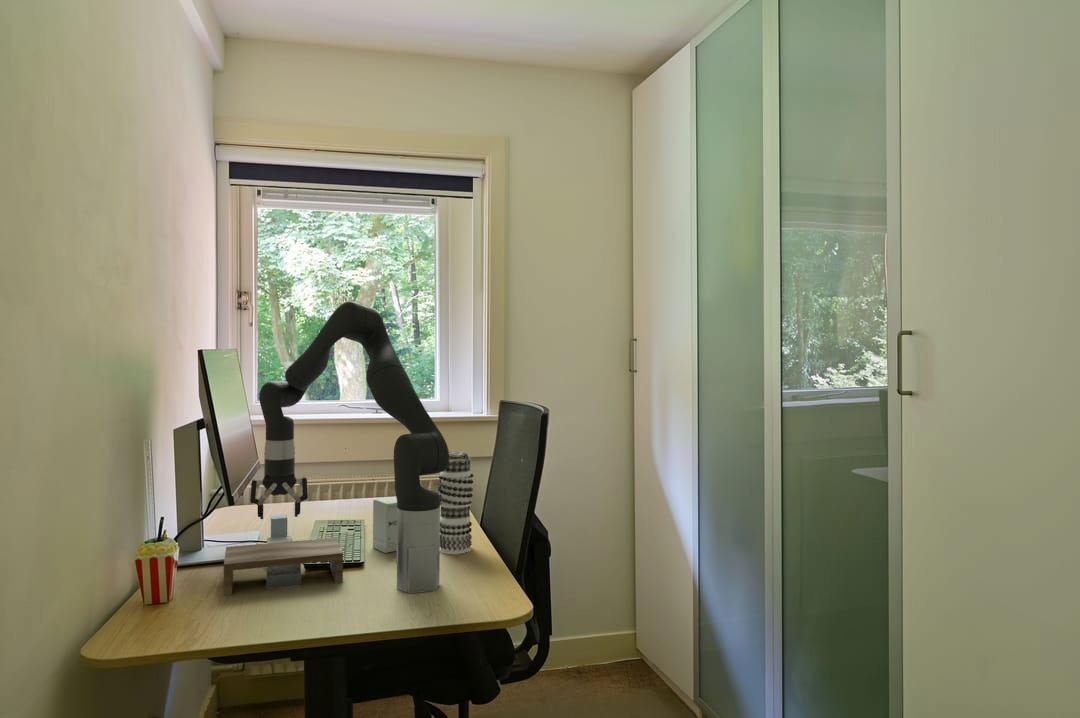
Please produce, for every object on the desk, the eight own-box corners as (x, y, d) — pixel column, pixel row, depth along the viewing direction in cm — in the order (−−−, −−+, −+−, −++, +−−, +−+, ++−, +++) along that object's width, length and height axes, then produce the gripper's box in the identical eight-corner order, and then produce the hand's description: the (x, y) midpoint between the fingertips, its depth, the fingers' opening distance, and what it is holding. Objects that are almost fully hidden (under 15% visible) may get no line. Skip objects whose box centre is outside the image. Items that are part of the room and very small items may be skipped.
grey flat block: (301, 586, 156) (301, 573, 156) (266, 590, 153) (266, 576, 153) (300, 577, 162) (300, 563, 162) (267, 580, 160) (267, 566, 160)
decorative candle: (476, 553, 181) (477, 454, 181) (439, 555, 179) (440, 455, 179) (469, 543, 190) (470, 449, 190) (434, 546, 188) (435, 450, 187)
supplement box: (385, 553, 180) (385, 503, 180) (372, 547, 186) (372, 498, 186) (411, 548, 185) (411, 500, 185) (397, 542, 191) (397, 495, 191)
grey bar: (266, 542, 190) (266, 516, 190) (290, 540, 192) (290, 514, 192) (268, 568, 168) (268, 538, 168) (295, 565, 170) (295, 536, 170)
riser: (342, 582, 158) (342, 553, 158) (223, 595, 149) (223, 564, 149) (335, 564, 171) (336, 537, 171) (226, 575, 162) (226, 546, 162)
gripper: (250, 459, 183) (250, 522, 183) (308, 457, 188) (308, 518, 189) (250, 455, 190) (250, 516, 190) (307, 453, 195) (306, 512, 196)
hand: (279, 517), depth 190 cm, fingers open, 8 cm apart
